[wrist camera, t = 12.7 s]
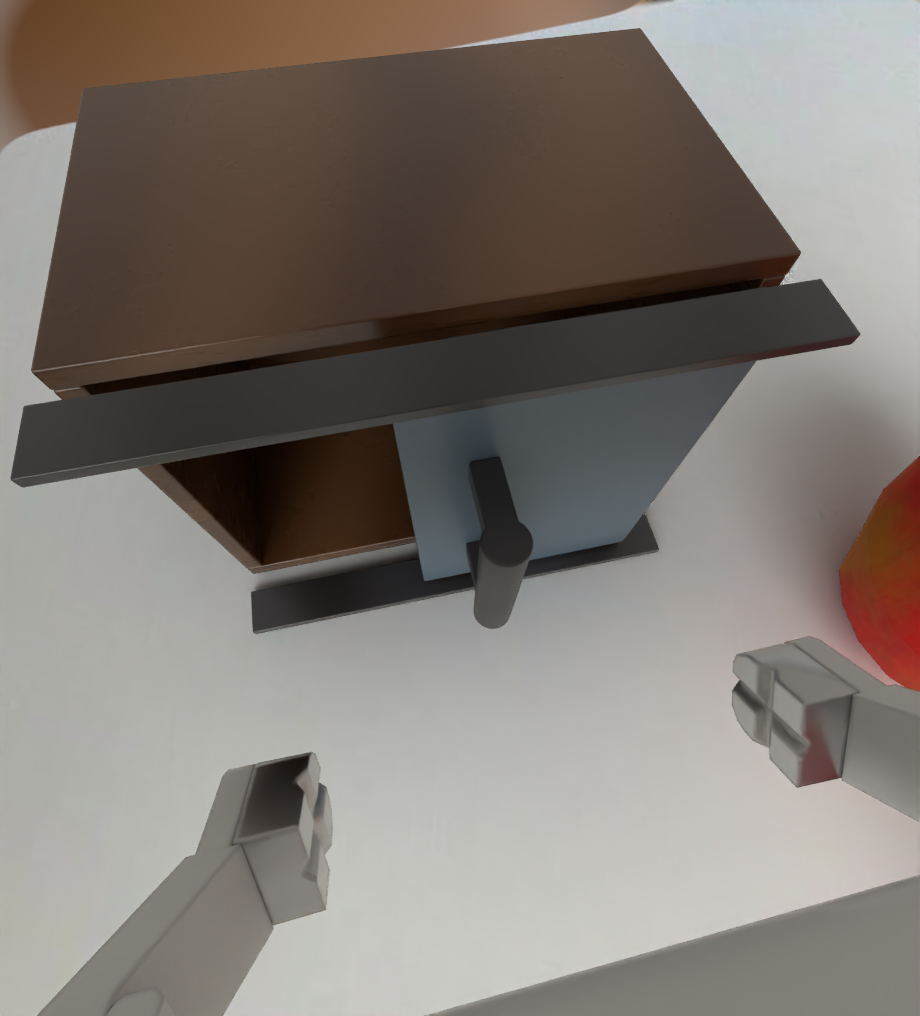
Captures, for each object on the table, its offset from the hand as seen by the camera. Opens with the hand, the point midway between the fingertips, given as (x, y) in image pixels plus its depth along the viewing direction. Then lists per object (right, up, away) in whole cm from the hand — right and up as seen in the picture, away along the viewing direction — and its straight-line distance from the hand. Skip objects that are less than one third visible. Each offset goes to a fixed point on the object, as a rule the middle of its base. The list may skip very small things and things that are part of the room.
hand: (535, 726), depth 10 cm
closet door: (+1, +1, +10) cm, 10 cm away
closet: (-3, +6, +13) cm, 15 cm away
